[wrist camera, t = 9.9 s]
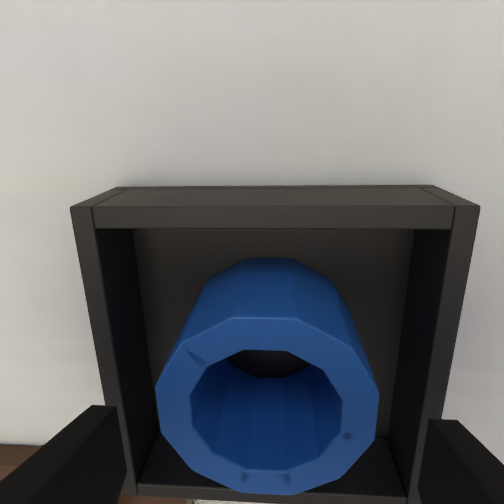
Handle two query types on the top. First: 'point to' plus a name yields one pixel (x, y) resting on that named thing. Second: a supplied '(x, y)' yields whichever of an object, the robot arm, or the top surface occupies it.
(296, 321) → the tape roll
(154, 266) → the tray
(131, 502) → the tape holder
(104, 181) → the top surface
